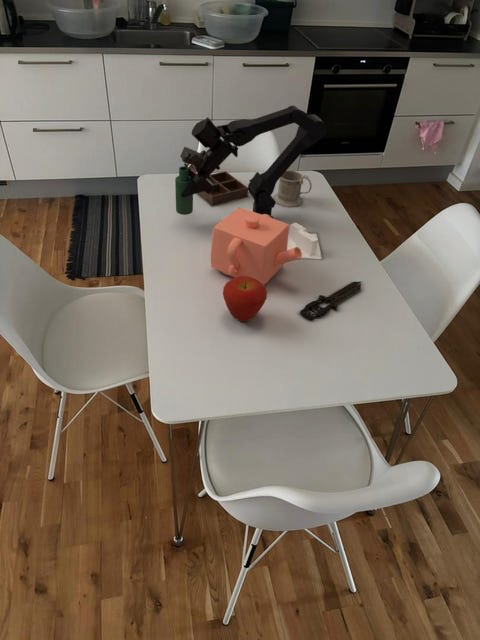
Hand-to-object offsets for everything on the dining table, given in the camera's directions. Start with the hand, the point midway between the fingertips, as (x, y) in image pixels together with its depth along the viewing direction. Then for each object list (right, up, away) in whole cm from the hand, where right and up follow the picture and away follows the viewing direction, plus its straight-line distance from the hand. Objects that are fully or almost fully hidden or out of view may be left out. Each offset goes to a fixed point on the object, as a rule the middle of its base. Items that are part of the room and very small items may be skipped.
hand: (179, 192), depth 159 cm
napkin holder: (+39, -16, +5) cm, 43 cm away
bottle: (+1, -5, +5) cm, 7 cm away
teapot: (+24, -27, -9) cm, 37 cm away
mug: (+38, +3, +26) cm, 46 cm away
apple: (+20, -40, -24) cm, 51 cm away
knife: (+46, -35, -16) cm, 60 cm away
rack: (+11, +7, +28) cm, 31 cm away
